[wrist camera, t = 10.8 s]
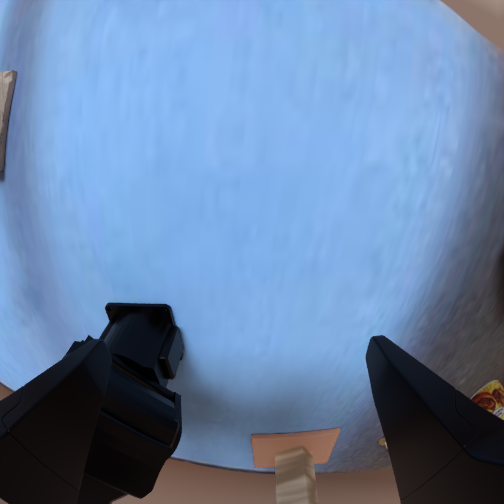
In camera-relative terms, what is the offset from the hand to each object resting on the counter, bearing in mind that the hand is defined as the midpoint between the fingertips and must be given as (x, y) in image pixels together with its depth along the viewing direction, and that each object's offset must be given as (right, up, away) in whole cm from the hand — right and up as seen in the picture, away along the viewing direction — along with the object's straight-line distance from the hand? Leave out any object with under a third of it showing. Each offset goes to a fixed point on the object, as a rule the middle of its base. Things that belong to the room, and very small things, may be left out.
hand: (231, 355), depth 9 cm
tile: (+7, -26, +26) cm, 38 cm away
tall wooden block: (+7, -27, +26) cm, 37 cm away
